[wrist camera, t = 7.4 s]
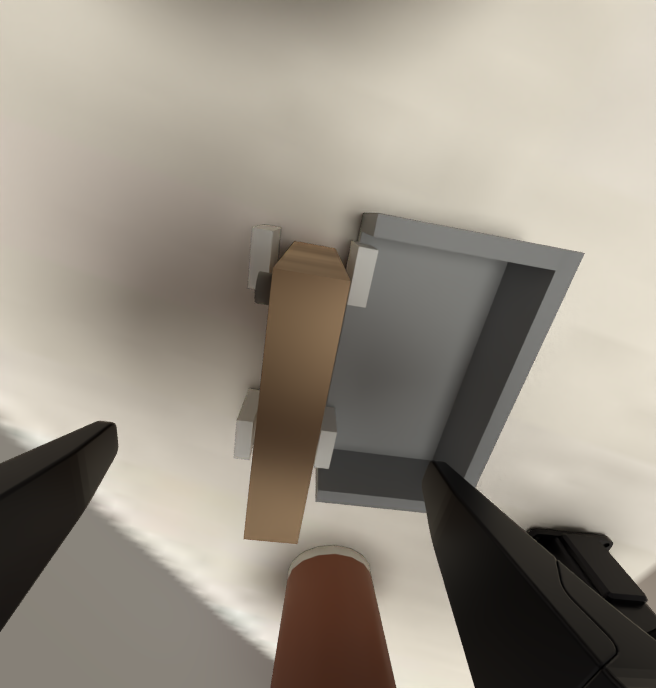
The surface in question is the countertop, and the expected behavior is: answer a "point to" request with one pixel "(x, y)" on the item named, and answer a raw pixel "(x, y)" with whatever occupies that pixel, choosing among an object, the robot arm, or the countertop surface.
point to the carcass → (422, 354)
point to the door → (293, 384)
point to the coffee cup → (331, 625)
